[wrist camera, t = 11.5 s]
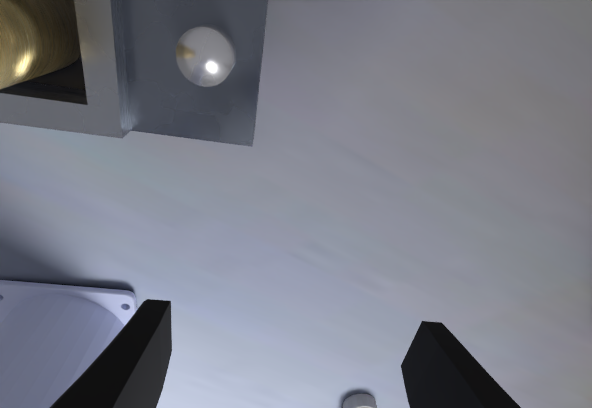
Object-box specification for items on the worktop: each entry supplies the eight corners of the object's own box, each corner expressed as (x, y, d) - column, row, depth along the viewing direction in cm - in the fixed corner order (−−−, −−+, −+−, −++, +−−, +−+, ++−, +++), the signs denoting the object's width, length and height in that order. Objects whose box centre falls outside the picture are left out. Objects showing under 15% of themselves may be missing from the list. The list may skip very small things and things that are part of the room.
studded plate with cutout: (253, 138, 17) (250, 159, 15) (-177, 80, 15) (-253, 94, 13) (273, -48, 13) (271, -56, 11) (-291, -158, 11) (-425, -195, 9)
